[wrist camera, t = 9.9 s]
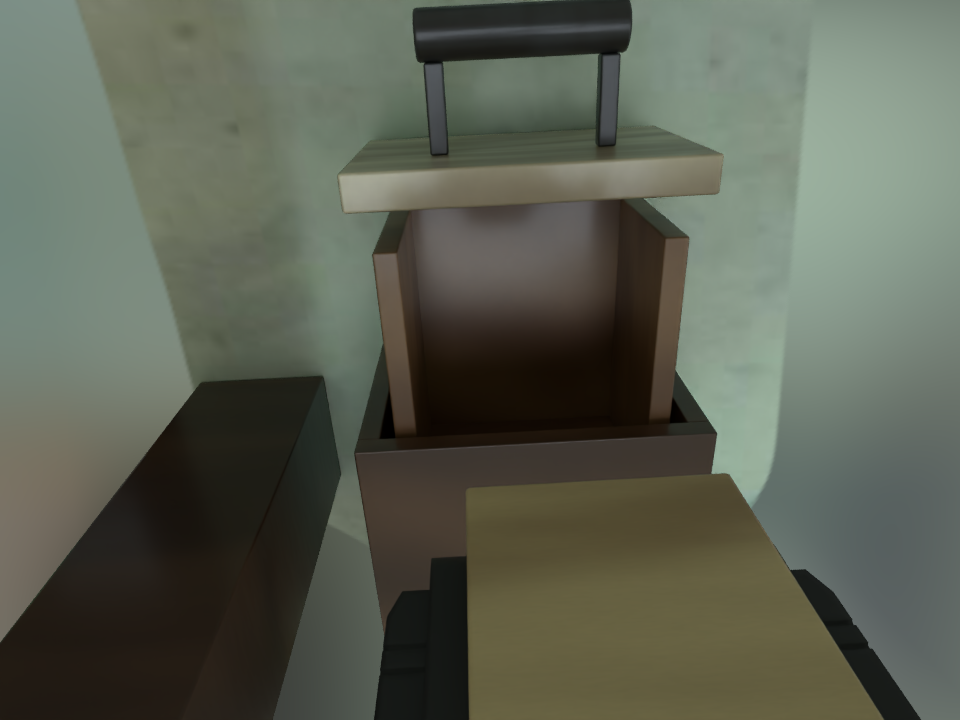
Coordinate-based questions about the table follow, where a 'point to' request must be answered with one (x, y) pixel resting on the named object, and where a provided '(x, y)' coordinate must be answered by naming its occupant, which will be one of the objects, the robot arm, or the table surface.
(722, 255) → the table surface
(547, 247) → the drawer
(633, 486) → the block
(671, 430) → the cabinet
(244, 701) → the post
